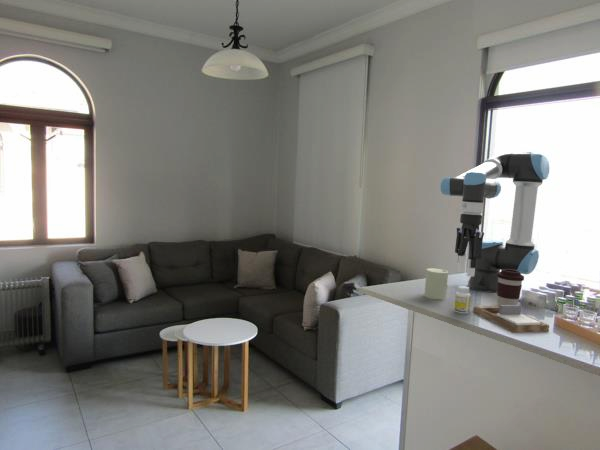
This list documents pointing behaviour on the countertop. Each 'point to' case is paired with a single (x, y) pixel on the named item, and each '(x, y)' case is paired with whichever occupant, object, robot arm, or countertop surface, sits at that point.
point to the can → (436, 283)
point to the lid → (515, 315)
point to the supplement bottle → (462, 300)
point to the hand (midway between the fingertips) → (465, 274)
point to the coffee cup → (509, 287)
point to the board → (491, 314)
